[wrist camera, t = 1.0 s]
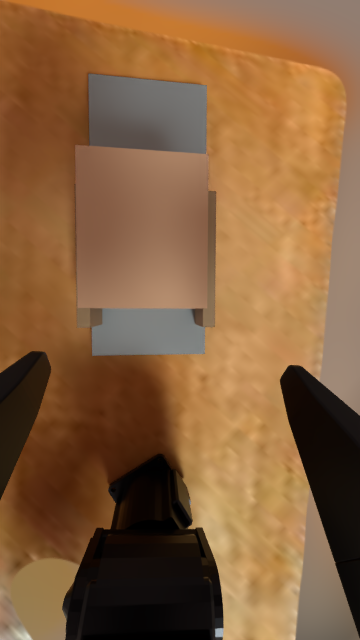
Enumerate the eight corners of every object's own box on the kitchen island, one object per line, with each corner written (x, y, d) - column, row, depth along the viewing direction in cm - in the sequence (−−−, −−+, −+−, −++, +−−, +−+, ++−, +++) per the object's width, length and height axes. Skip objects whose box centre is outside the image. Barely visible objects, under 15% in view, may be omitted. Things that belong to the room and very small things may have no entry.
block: (187, 309, 23) (207, 308, 14) (110, 308, 22) (77, 307, 13) (188, 217, 22) (208, 154, 13) (109, 213, 22) (75, 144, 13)
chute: (202, 351, 24) (214, 362, 19) (95, 353, 23) (77, 365, 18) (204, 97, 23) (217, 35, 18) (92, 86, 22) (72, 17, 17)
